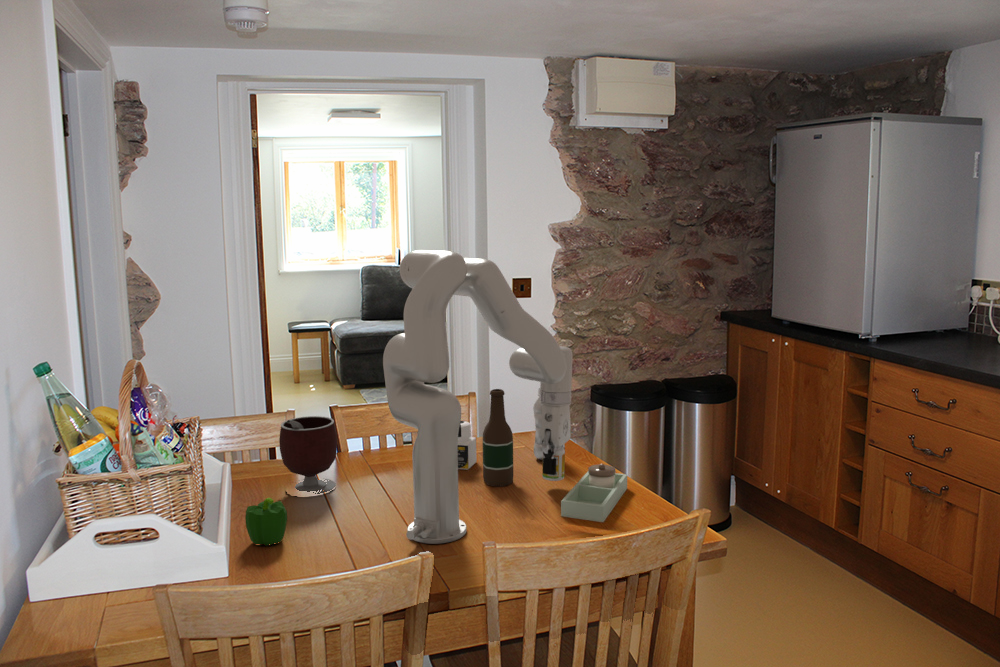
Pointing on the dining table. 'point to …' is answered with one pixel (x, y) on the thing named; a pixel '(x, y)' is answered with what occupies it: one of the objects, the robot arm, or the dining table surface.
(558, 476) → the supplement bottle
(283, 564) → the dining table surface
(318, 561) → the dining table surface
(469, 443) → the medicine bottle
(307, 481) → the mate gourd
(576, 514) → the caddy
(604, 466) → the jar
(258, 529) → the bell pepper
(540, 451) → the plastic bottle
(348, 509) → the dining table surface
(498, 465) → the beer bottle
